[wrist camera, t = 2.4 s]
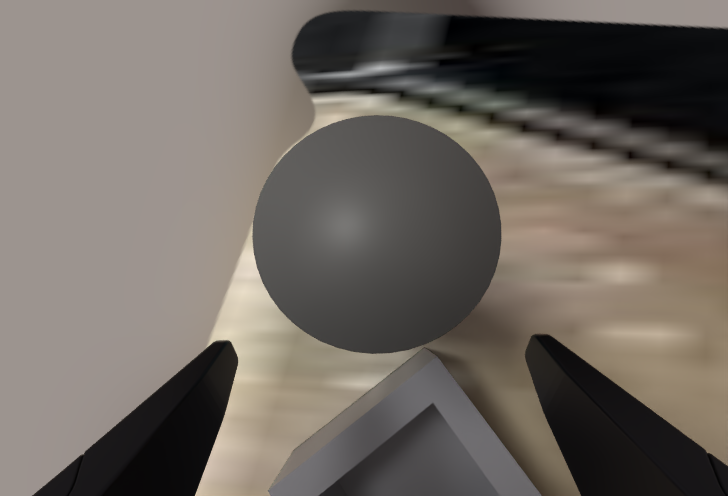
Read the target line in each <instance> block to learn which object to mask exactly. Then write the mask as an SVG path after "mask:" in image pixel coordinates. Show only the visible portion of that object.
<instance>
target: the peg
mask: <svg viewBox="0 0 728 496" xmlns="http://www.w3.org/2000/svg"><path fill="white" fill-rule="evenodd" d="M500 246H501V220H500V214H499V208H498V205H497V201H496V198H495V195H494V192H493V190H492V188H491V186H490V183H489V181H488V179H487V177H486V176H485V174H484V173H483V171H482V170H481V168H480V166H479V165H478V164H477V163H476V161H475V160H474V159H473V158H472V157H471V155H470V154H469V153H468V152H467V151H465V150H464V149H463V148H462V147H461V146H460V145H459V144H458V143H456V142H455V141H454V140H452V139H451V138H450V137H448V136H447V135H445V134H443V133H442V132H440V131H438V130H436V129H434V128H432V127H430V126H427V125H425V124H422V123H420V122H417V121H413V120H409V119H406V118H400V117H394V116H379V115H374V116H361V117H355V118H350V119H345V120H342V121H339V122H336V123H333V124H330V125H328V126H326V127H323V128H321V129H319V130H317V131H315V132H314V133H312V134H310V135H309V136H307V137H305V138H304V139H303V140H301V141H300V142H299V143H297V144H296V145H295V146H294V147H293V148H292V149H291V150H290V151H289V152H287V153H286V154H285V155H284V156H283V158H282V159H281V160H280V161H279V163H278V164H277V165H276V166H275V168H274V169H273V171H272V172H271V174H270V175H269V177H268V179H267V180H266V183H265V185H264V187H263V189H262V191H261V193H260V196H259V200H258V203H257V206H256V210H255V216H254V221H253V248H254V255H255V260H256V264H257V268H258V271H259V274H260V276H261V279H262V282H263V284H264V286H265V288H266V289H267V291H268V293H269V295H270V297H271V298H272V300H273V301H274V302H275V304H276V305H277V306H278V308H279V309H280V310H281V311H282V312H283V313H284V314H285V315H286V316H287V317H288V318H289V319H290V320H291V321H292V322H293V323H294V324H295V325H296V326H298V327H299V328H300V329H302V330H303V331H304V332H306V333H307V334H309V335H311V336H313V337H314V338H316V339H318V340H320V341H322V342H324V343H327V344H329V345H332V346H334V347H337V348H341V349H345V350H349V351H353V352H361V353H371V354H376V353H393V352H398V351H404V350H409V349H412V348H415V347H418V346H421V345H424V344H427V343H429V342H431V341H433V340H435V339H437V338H439V337H441V336H442V335H444V334H445V333H447V332H448V331H450V330H451V329H453V328H454V327H456V326H457V325H458V324H459V323H460V322H461V321H462V320H463V319H464V318H466V317H467V316H468V315H469V314H470V312H471V311H472V310H473V309H474V308H475V306H476V305H477V304H478V303H479V302H480V300H481V298H482V297H483V295H484V293H485V292H486V290H487V289H488V287H489V285H490V282H491V280H492V278H493V275H494V273H495V270H496V266H497V263H498V259H499V255H500Z"/></svg>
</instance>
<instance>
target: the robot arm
mask: <svg viewBox="0 0 728 496" xmlns="http://www.w3.org/2000/svg"><path fill="white" fill-rule="evenodd" d="M525 358H526V362H527V365H528V368H529V371H530V374H531V377H532V380H533V383H534V386H535V389H536V392H537V395H538V398H539V401H540V404H541V406H542V409H543V412H544V414H545V417H546V419H547V421H548V424H549V426H550V428H551V430H552V432H553V435H554V437H555V439H556V441H557V443H558V446H559V448H560V450H561V452H562V454H563V457H564V459H565V461H566V463H567V465H568V468H569V470H570V472H571V474H572V476H573V479H574V481H575V483H576V485H577V487H578V490H579V492H580V494H581V496H728V466H727V465H725V464H724V463H723V462H721V461H720V460H719V459H717V458H716V457H715V456H713V455H712V454H710V453H707V452H706V450H705V449H704V448H702V447H701V446H699V445H698V444H697V443H695V442H694V441H693V440H691V439H690V438H689V437H687V436H686V435H685V434H683V433H682V432H680V431H679V430H678V429H676V428H675V427H674V426H672V425H671V424H670V423H668V422H667V421H666V420H664V419H663V418H662V417H660V416H659V415H657V414H656V413H655V412H653V411H652V410H651V409H649V408H648V407H647V406H645V405H644V404H643V403H641V402H640V401H638V400H637V399H636V398H634V397H633V396H632V395H630V394H629V393H628V392H626V391H625V390H624V389H622V388H621V387H620V386H618V385H617V384H615V383H614V382H613V381H611V380H610V379H609V378H607V377H606V376H605V375H603V374H602V373H601V372H599V371H598V370H597V369H595V368H594V367H592V366H591V365H590V364H588V363H587V362H586V361H584V360H583V359H582V358H580V357H579V356H578V355H576V354H575V353H573V352H572V351H571V350H569V349H568V348H567V347H565V346H564V345H563V344H561V343H560V342H559V341H557V340H556V339H555V338H553V337H552V336H550V335H548V334H534V335H532V336H531V339H530V341H529V344H528V346H527V349H526V352H525ZM237 366H238V357H237V354H236V352H235V350H234V347H233V345H232V343H231V342H230V341H229V340H218V341H215V342H213V343H212V344H211V345H210V346H209V347H207V348H206V349H205V350H204V351H203V352H201V353H200V354H199V355H198V356H197V357H196V358H194V359H193V360H192V361H191V362H190V363H189V364H188V365H186V366H185V367H184V368H183V369H182V370H180V371H179V372H178V373H177V374H176V375H174V376H173V377H172V378H171V379H170V380H169V381H167V382H166V383H165V384H164V385H163V386H162V387H160V388H159V389H158V390H157V391H156V392H155V393H153V394H152V395H151V396H150V397H149V398H147V399H146V400H145V401H144V402H143V403H142V404H141V405H139V406H138V407H137V408H136V409H135V410H134V411H132V412H131V413H130V414H129V415H128V416H126V417H125V418H124V419H123V420H122V421H121V422H119V423H118V424H117V425H116V426H115V427H113V428H112V429H111V430H110V431H109V432H107V433H106V434H105V435H104V436H103V437H102V438H100V439H99V440H98V441H97V442H96V443H95V444H93V445H92V446H91V447H90V448H89V449H88V450H86V451H85V453H84V454H83V455H80V456H79V457H78V458H77V459H76V460H75V461H73V462H72V463H71V464H70V465H69V466H67V467H66V468H65V469H64V470H63V471H61V472H60V473H59V474H58V475H57V476H55V477H54V478H53V479H52V480H51V481H49V482H48V483H47V484H46V485H45V486H43V487H42V488H41V489H40V490H39V491H37V492H36V493H35V494H34V495H32V496H195V494H196V491H197V489H198V486H199V483H200V481H201V478H202V475H203V472H204V470H205V467H206V464H207V462H208V459H209V456H210V454H211V451H212V448H213V445H214V443H215V440H216V437H217V435H218V432H219V429H220V427H221V424H222V421H223V418H224V415H225V411H226V408H227V404H228V400H229V397H230V393H231V389H232V385H233V381H234V377H235V374H236V370H237Z"/></svg>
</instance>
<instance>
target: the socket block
mask: <svg viewBox="0 0 728 496" xmlns="http://www.w3.org/2000/svg"><path fill="white" fill-rule="evenodd" d="M268 492H269V493H270V495H271V496H542V495H541V494H540V493H539V491H538V490H537V489H536V487H535V486H534V485H533V483H532V482H531V481H530V479H529V478H528V477H527V475H526V474H525V473H524V471H523V470H522V469H521V467H520V466H519V465H518V463H517V462H516V461H515V459H514V458H513V457H512V455H511V454H510V453H509V451H508V450H507V449H506V447H505V446H504V445H503V443H502V442H501V441H500V439H499V438H498V437H497V435H496V434H495V433H494V431H493V430H492V429H491V427H490V426H489V425H488V423H487V422H486V421H485V419H484V418H483V417H482V415H481V414H480V413H479V411H478V410H477V409H476V407H475V406H474V405H473V403H472V402H471V401H470V399H469V398H468V397H467V395H466V394H465V393H464V391H463V390H462V389H461V387H460V386H459V385H458V383H457V382H456V381H455V379H454V378H453V377H452V375H451V374H450V373H449V371H448V370H447V369H446V367H445V366H444V365H443V363H442V362H441V361H440V359H439V358H438V357H437V356H436V355H435V354H433V353H432V352H430V351H429V350H428V349H426V348H425V347H424V348H423V349H422V350H420V351H419V352H418V353H417V354H415V355H414V356H413V357H411V358H410V359H409V360H408V361H406V362H405V363H404V364H403V365H401V366H400V367H399V368H398V369H396V370H395V371H394V372H392V373H391V374H390V375H389V376H387V377H386V378H385V379H384V380H382V381H381V382H380V383H378V384H377V385H376V386H375V387H373V388H372V389H371V390H370V391H368V392H367V393H366V394H365V395H363V396H362V397H361V398H359V399H358V400H357V401H356V402H354V403H353V404H352V405H351V406H349V407H348V408H347V409H345V410H344V411H343V412H342V413H340V414H339V415H338V416H337V417H335V418H334V419H333V420H331V421H330V422H329V423H328V424H326V425H325V426H324V427H323V428H321V429H320V430H319V431H318V432H316V433H315V434H314V435H312V436H311V437H310V438H309V439H307V440H306V441H305V442H304V443H302V444H301V445H300V446H298V447H297V448H296V449H295V450H293V452H292V453H291V455H290V457H289V458H288V460H287V461H286V463H285V465H284V466H283V468H282V469H281V471H280V473H279V474H278V476H277V477H276V479H275V481H274V482H273V484H272V485H271V487H270V488H269V490H268Z"/></svg>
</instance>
